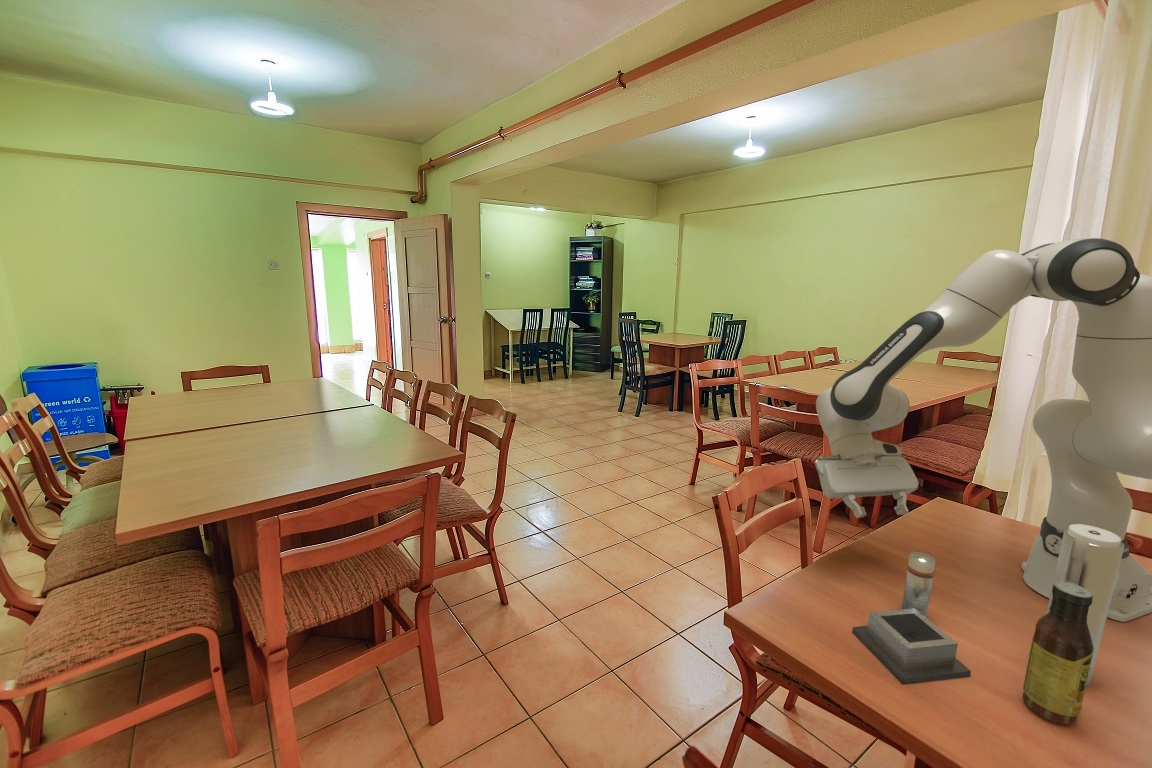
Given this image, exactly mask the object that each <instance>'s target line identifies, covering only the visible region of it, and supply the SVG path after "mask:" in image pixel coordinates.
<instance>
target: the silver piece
mask: <svg viewBox="0 0 1152 768" xmlns="http://www.w3.org/2000/svg"><path fill="white" fill-rule="evenodd" d="M1123 550H1124V544H1123V543H1122V542H1121V538H1120V537H1119V536H1117V535H1116V534H1114V533H1112V532H1110V531H1107V530H1104V529H1101V528H1098V527H1094V526H1089V525H1083V524H1072V525H1070V526H1069V528H1067V529H1065V530H1064V534H1063V539H1062V543H1061V548H1060V553H1059V557H1058V562H1057V566H1056V571H1055V575H1054V580H1053V585H1054V583H1055V582H1059V581H1060V582H1068V583H1072V584H1076V585H1078V586H1081V587H1083V588H1085V589H1087V590H1088V591H1090V592H1091V593H1092V594H1093V599H1092V604H1091V605H1090V606H1089V610H1088V615H1087V625H1088V628H1089V632H1090V636H1091V640H1092V644H1093V647H1094V651H1093V657H1092V660H1091V665H1090V670H1089V675H1088V679H1087V684H1086V687H1087V686H1089V685H1090V684H1092V678H1093V676H1094V671H1095V668H1096V667H1095V666H1096V664H1097V660H1098V659H1097V658H1098V655H1099V651H1100V647H1101V643H1102V638H1103V636H1104V631H1105V627H1106V623H1107V618H1108V617H1107V615H1108V611H1109V607H1110V603H1111V599H1112V595H1113V591H1114V586H1115V582H1116V578H1117V574H1118V570H1119V566H1120V562H1121V558H1122V554H1123ZM1053 585H1052V589H1053ZM1052 589H1051V594H1050V598H1048V603H1047V604H1048V605H1047V609H1046V612H1045V614H1047V613H1049V612H1050V609H1049V608H1050V606H1051V604H1052V599H1053V594H1052Z"/></svg>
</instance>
